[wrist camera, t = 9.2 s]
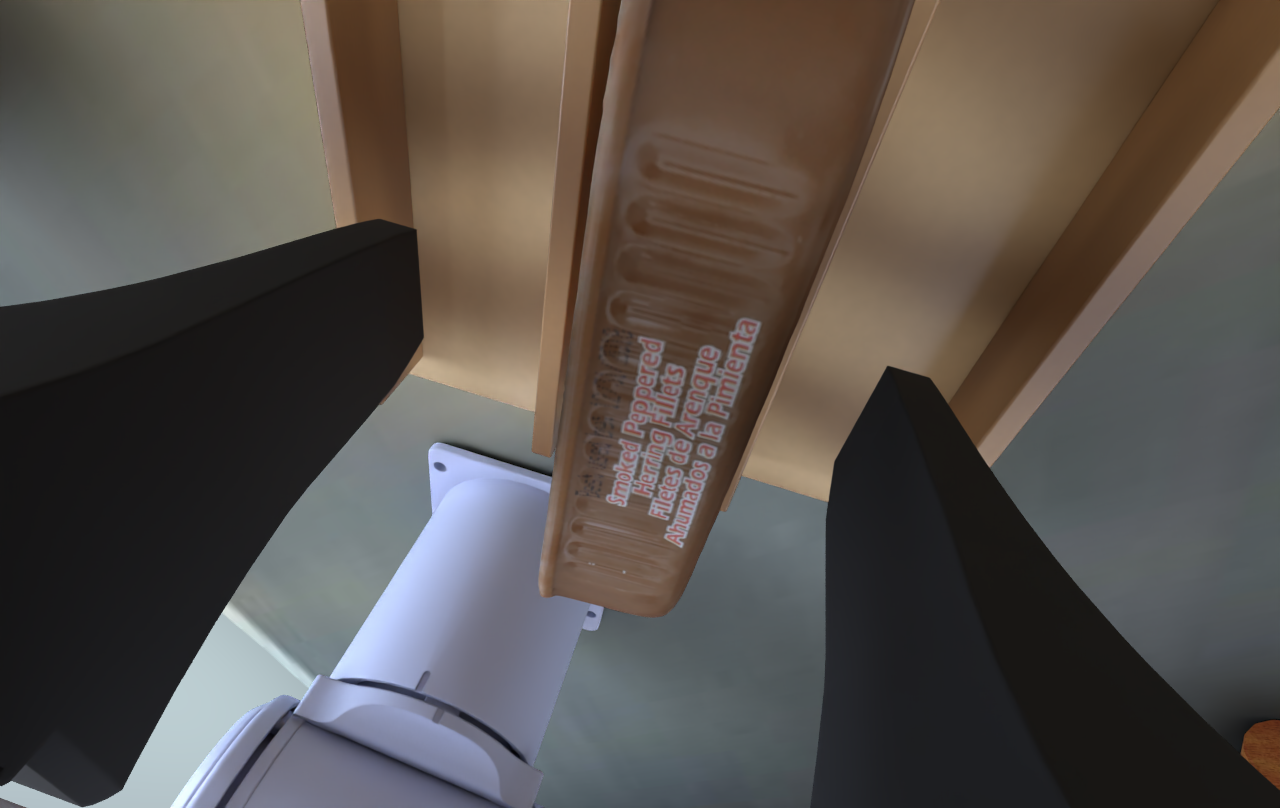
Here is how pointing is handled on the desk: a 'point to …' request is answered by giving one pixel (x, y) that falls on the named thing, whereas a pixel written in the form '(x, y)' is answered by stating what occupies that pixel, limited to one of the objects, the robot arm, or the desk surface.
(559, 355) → the rack
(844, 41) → the tin
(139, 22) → the desk surface
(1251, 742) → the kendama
